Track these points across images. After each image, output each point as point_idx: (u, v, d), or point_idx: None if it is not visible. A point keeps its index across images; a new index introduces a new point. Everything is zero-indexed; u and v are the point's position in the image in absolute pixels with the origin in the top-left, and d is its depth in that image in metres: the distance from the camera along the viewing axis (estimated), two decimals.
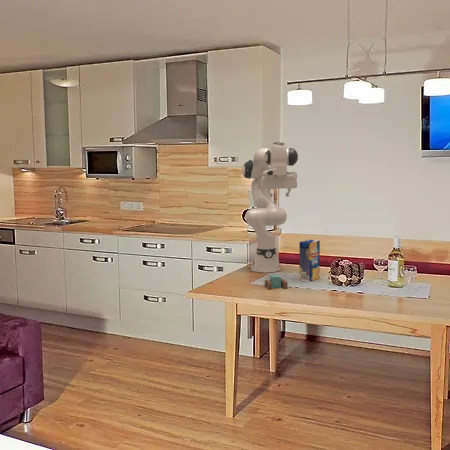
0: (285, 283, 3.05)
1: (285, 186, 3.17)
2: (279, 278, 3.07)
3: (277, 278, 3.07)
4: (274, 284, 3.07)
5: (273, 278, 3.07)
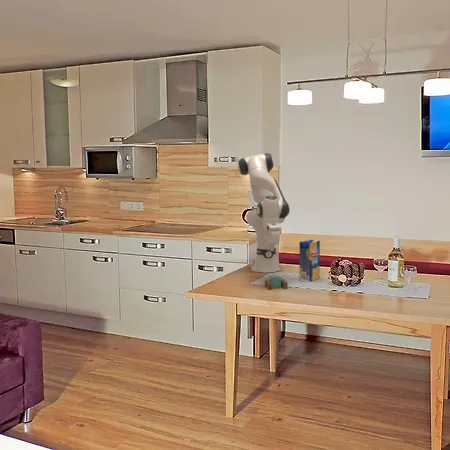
0: (285, 283, 3.05)
1: None
2: (279, 278, 3.07)
3: (277, 278, 3.07)
4: (274, 284, 3.07)
5: (273, 278, 3.07)
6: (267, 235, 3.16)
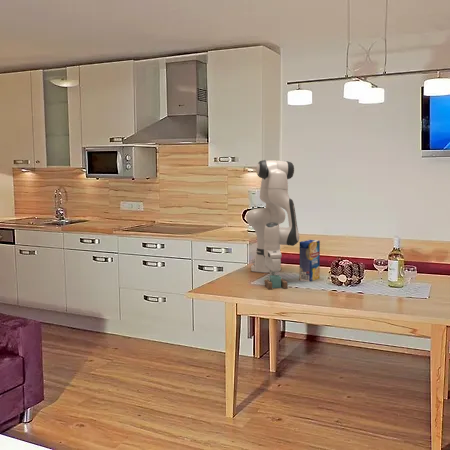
0: (285, 283, 3.05)
1: None
2: (279, 278, 3.07)
3: (277, 278, 3.07)
4: (274, 284, 3.07)
5: (273, 278, 3.07)
6: (268, 261, 3.18)
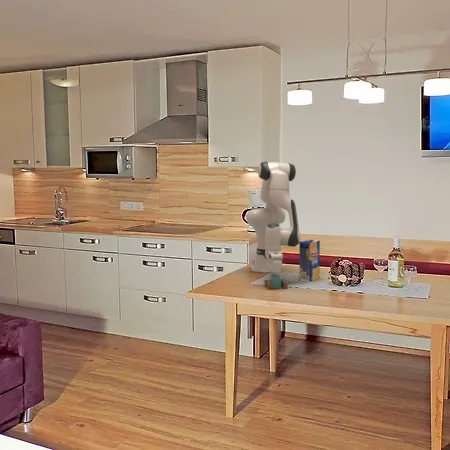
0: (285, 283, 3.05)
1: None
2: (279, 278, 3.07)
3: (277, 278, 3.07)
4: (274, 284, 3.07)
5: (273, 278, 3.07)
6: (269, 263, 3.14)
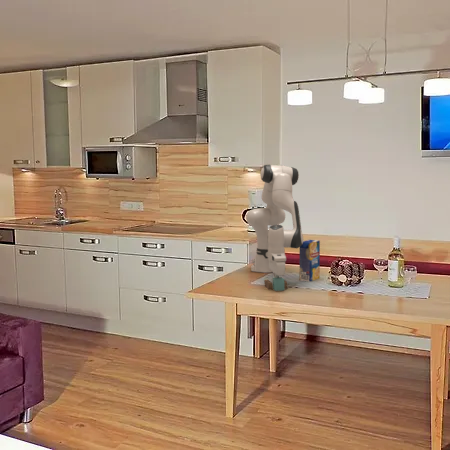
0: (285, 283, 3.05)
1: None
2: (282, 281, 3.01)
3: (280, 281, 3.01)
4: (277, 286, 3.01)
5: (276, 281, 3.00)
6: (272, 265, 3.08)
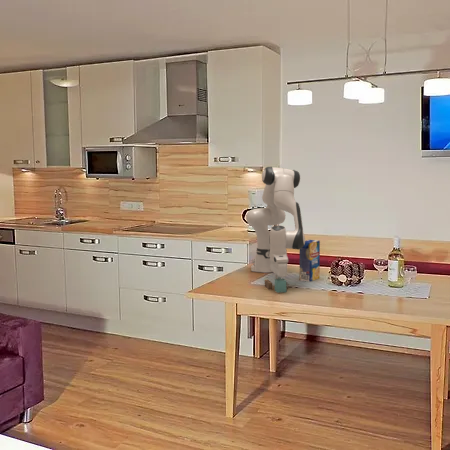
0: None
1: None
2: (284, 282, 2.97)
3: (282, 282, 2.97)
4: (279, 288, 2.97)
5: (278, 282, 2.97)
6: (274, 266, 3.04)
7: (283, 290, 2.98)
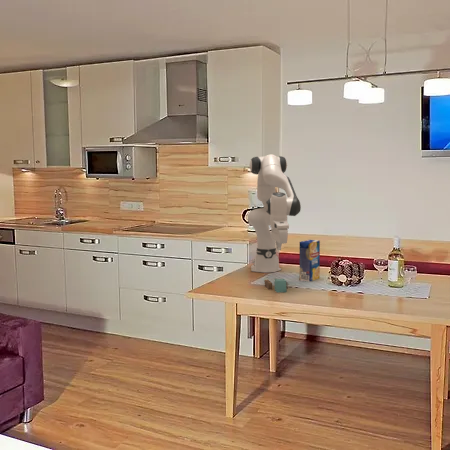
0: None
1: None
2: (284, 282, 2.97)
3: (282, 282, 2.97)
4: (279, 288, 2.97)
5: (278, 282, 2.97)
6: (274, 233, 3.03)
7: (283, 290, 2.98)
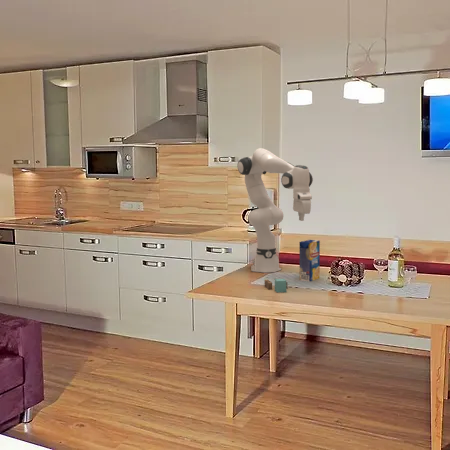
0: None
1: None
2: (284, 282, 2.97)
3: (282, 282, 2.97)
4: (279, 288, 2.97)
5: (278, 282, 2.97)
6: (297, 205, 3.14)
7: (283, 290, 2.98)
